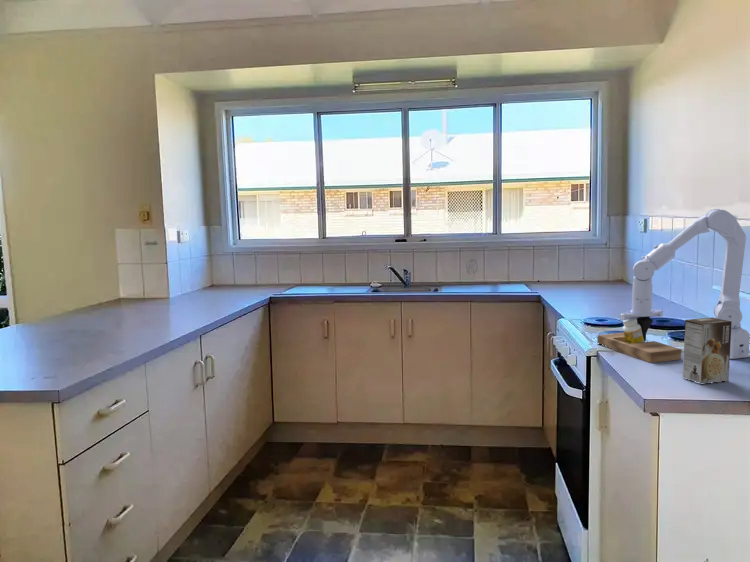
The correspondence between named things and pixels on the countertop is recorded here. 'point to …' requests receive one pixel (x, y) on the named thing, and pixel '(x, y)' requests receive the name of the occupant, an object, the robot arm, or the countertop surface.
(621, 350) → the board
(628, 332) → the supplement bottle
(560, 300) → the countertop surface
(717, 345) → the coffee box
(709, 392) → the countertop surface
